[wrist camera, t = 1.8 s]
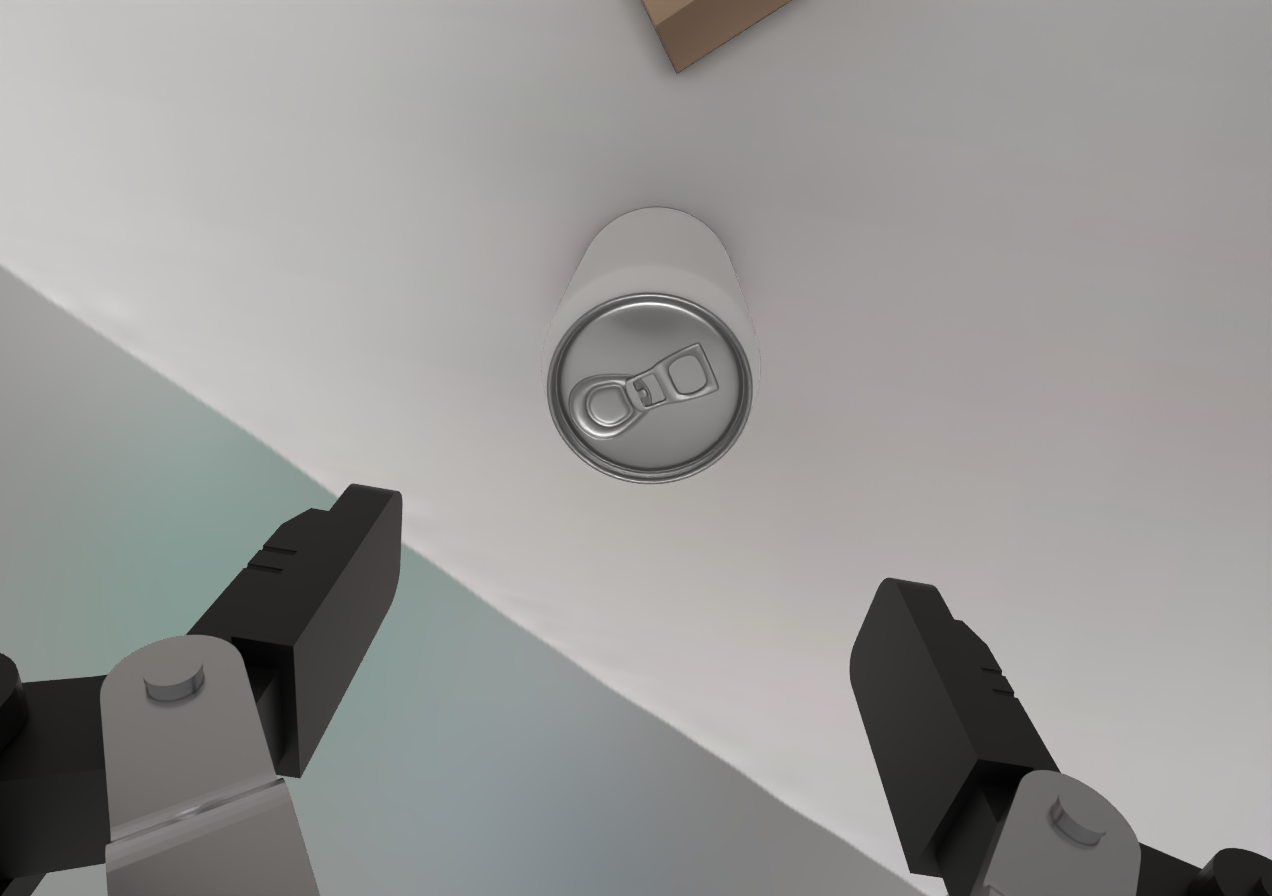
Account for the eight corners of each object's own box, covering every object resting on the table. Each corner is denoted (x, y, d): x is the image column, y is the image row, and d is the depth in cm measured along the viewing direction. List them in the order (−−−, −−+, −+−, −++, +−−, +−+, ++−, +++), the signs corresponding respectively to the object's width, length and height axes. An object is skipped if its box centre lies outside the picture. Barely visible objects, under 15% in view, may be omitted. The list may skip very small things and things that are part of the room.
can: (552, 245, 29) (487, 336, 19) (698, 176, 28) (716, 233, 17) (619, 379, 32) (594, 526, 21) (755, 323, 30) (802, 451, 20)
